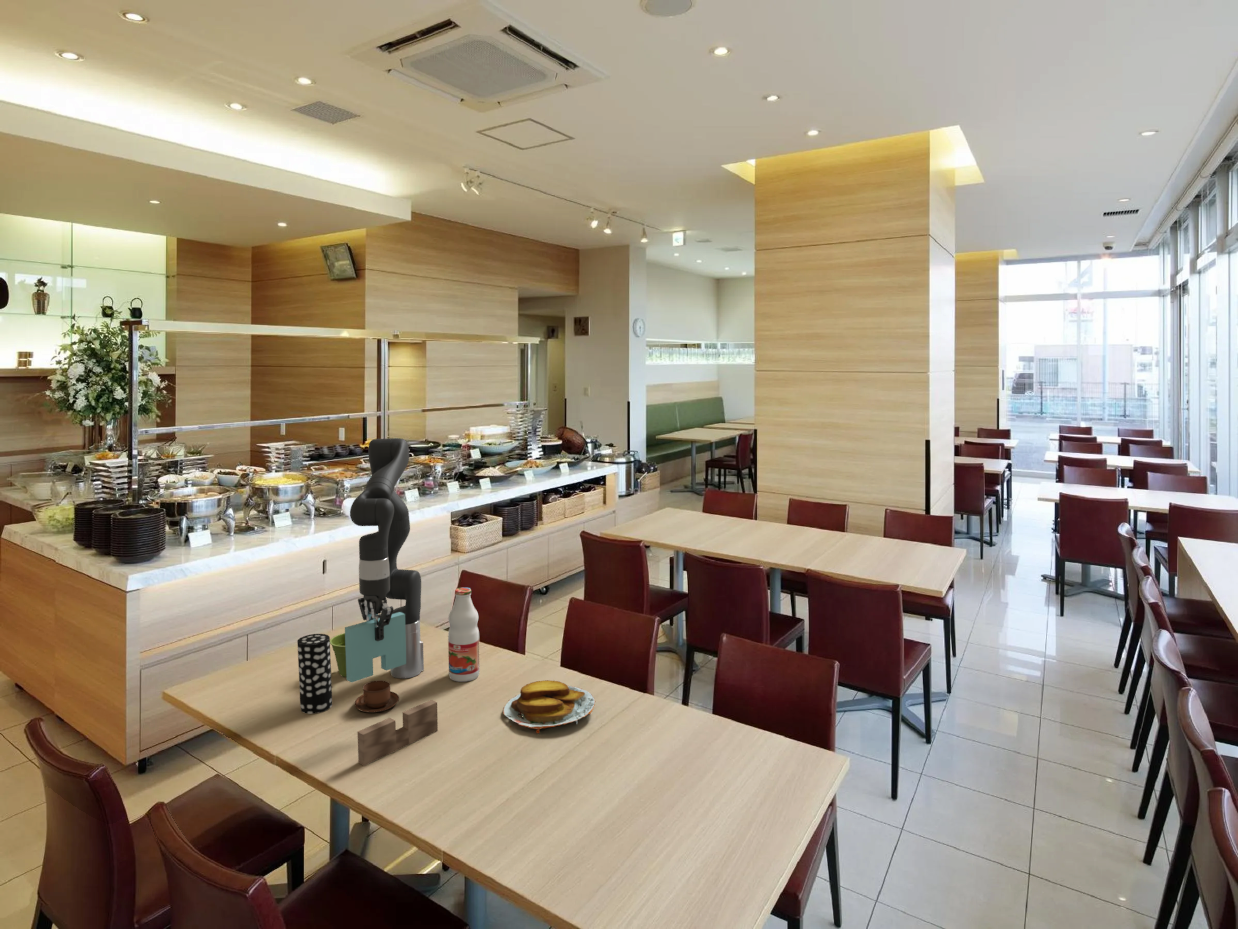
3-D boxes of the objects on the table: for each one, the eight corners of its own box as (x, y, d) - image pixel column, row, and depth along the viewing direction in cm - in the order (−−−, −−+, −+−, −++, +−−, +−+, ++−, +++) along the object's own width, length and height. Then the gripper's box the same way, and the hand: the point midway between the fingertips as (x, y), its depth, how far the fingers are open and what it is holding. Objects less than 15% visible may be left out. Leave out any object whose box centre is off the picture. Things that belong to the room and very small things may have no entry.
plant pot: (332, 667, 231) (331, 633, 229) (371, 663, 234) (370, 630, 233) (329, 683, 220) (327, 647, 218) (370, 678, 223) (369, 643, 222)
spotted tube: (324, 714, 200) (322, 645, 197) (295, 713, 200) (291, 644, 198) (337, 700, 208) (334, 634, 206) (308, 700, 208) (305, 633, 206)
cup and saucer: (385, 718, 199) (384, 697, 198) (346, 713, 201) (345, 692, 200) (406, 699, 210) (406, 679, 209) (369, 694, 213) (368, 674, 212)
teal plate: (346, 680, 185) (344, 627, 183) (401, 661, 197) (399, 611, 195) (351, 682, 184) (349, 629, 182) (406, 663, 196) (405, 614, 194)
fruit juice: (485, 672, 229) (484, 587, 225) (469, 684, 220) (468, 595, 216) (459, 668, 232) (458, 583, 228) (442, 679, 223) (441, 592, 219)
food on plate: (548, 746, 186) (547, 721, 185) (484, 715, 202) (484, 692, 201) (614, 710, 205) (614, 688, 204) (551, 684, 222) (551, 663, 221)
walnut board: (432, 728, 193) (431, 699, 192) (437, 730, 192) (437, 702, 191) (358, 762, 176) (357, 731, 175) (364, 765, 175) (363, 734, 174)
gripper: (402, 576, 185) (404, 641, 188) (372, 566, 194) (374, 628, 197) (376, 583, 180) (378, 649, 182) (346, 572, 189) (349, 636, 191)
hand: (376, 638), depth 189 cm, fingers closed on teal plate, 2 cm apart
